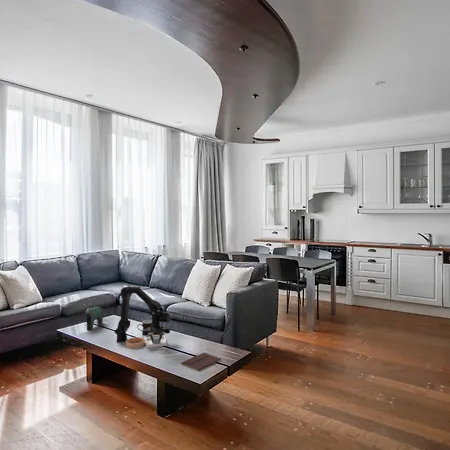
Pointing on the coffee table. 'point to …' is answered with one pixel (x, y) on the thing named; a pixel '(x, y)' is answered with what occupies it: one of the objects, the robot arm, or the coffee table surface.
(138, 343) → the terracotta bowl
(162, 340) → the tray
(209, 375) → the coffee table surface
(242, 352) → the coffee table surface
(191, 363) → the notebook
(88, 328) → the green animal figure
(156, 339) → the grey block
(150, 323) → the coffee mug
